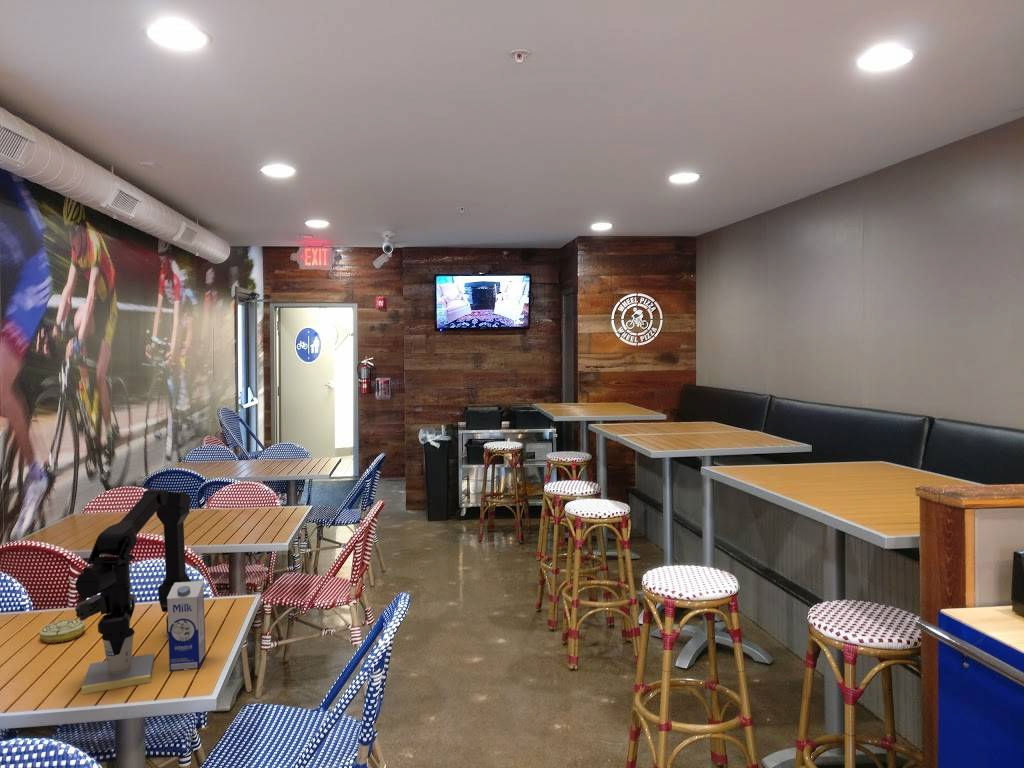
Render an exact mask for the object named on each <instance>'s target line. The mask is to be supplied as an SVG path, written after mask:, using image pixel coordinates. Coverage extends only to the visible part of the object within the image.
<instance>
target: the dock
mask: <svg viewBox="0 0 1024 768" xmlns="http://www.w3.org/2000/svg"><path fill="white" fill-rule="evenodd" d="M154 662H155V653H150V654H149V653H148V654H143V655H142V654H141V655H136V656H131V666H130V669H129V670H128V671H126V672H123V673H119V674H111V673H109V671H108V665H107V660H104V661H99V662H93V663H89V667H88V669H87V672H86V674H85V678H84V681H83V683H82V686H81V695H87V694H88V695H89V694H92V693H98V692H105V691H109V690H116V689H121V687H122V688H127V686H128V687H133V686H139V685H145V684H149V683H151V682H152V676H153V670H152V669H154V664H155V663H154ZM132 685H133V686H132Z"/></svg>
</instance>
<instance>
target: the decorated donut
mask: <svg viewBox="0 0 1024 768" xmlns="http://www.w3.org/2000/svg"><path fill="white" fill-rule="evenodd" d="M84 621H85V620H83V621H80V619H63V620H60V621H55V622H51V623H49V624H47V625H44V626H43V627H42V628H41V629H40V631H39V632H38V634H39V638H40V640H42V642H43V643H44V642H45V643H47V644H58V643H57V642H61V643H63V642H62V641H67V640H70V641H72V640H71V639H73V640H75V639H74V638H76V637H77V638H79V637H80V636H81V635H82V634H83V633H84V630H85V628H86V625H85V622H84ZM77 638H76V639H77ZM67 642H68V641H67Z"/></svg>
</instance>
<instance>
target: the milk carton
mask: <svg viewBox="0 0 1024 768" xmlns="http://www.w3.org/2000/svg"><path fill="white" fill-rule="evenodd" d="M204 583H205V581H204V580H198V581H197V580H196V581H192V582H177V583H174V585H173V586H172V588H171V590H170V592H169V595H168V597H167V606H168V612H167V615H168V633H167V634H168V659H169V660H168V664H169V665H168V666H169V667H168V668H169V672H174V670H178V671H185V670H184V669H190V670H194V669H193V668H199V667H201V666H202V664H203V663H204V661H205V659H206V658H205V657H206V623H205V622H206V620H205V619H206V618H205V595H204V594H205V593H204V592H205V591H204V589H205V588H204V587H205V586H204V585H205V584H204ZM203 660H204V661H203ZM202 662H203V663H202ZM200 665H201V666H200ZM199 669H200V668H199Z"/></svg>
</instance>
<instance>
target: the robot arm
mask: <svg viewBox="0 0 1024 768" xmlns="http://www.w3.org/2000/svg"><path fill="white" fill-rule="evenodd" d="M191 501H192V500H191V496H190V494H188V493H187V492H186V491H167V490H164V489H148V490H145V491H144V492H143V495H142V497H141V498H140V499H139V500H138V501H137V502H136V503H135V505H134V506H133V507H132V508H131V509H130V510H129V511H128V512H127V513H126V515H125V516H124V517H122V519H121V520H120V521H118V522H117V523H115V524H111V525H110V526H108V527H107V528H105V529H104V530H103V531H101V532H100V533H99V535H98V536H97V538H96V540H95V542H94V546H92V547H93V548H92V550H91V553H90V555H89V557H88V561H87V566H85V567H84V568H83V573H81V574H79V575H78V577H77V579H76V582H75V583H74V584H75V590H76V592H77V594H79V596H81V597H83V598H87V599H85V600H83V601H80V602H79V603H77V604H76V607H75V608H74V610H75V612H76V615H75V616H76V617H77V618H79V619H78V620H80V621H85V620H87V619H88V618H90V617H92V616H95V615H96V614H98V613H100V615H103V616H102V617H101V618H99V621H98V623H97V631H98V633H99V634H100V635H103V634H104V635H106V636H107V637H108V639H109V641H110V644H111V647H112V650H113V653H114V655H119V654H120V651H121V649H122V646H123V643H124V641H125V638H126V635H127V633H128V630H129V628H131V627H130V626H131V619H132V617H133V614H134V611H135V606H136V596H135V595H133V593H131V589H132V582H131V574H130V573H131V572H130V568H131V567H130V561H133V560H134V559H135V556H134V555H133V554H131V552H132V551H133V549H134V548H135V547H136V545H137V543H138V534H139V533H140V531H142V529H143V528H144V526H145V525H146V524H147V522H149V521H150V519H151V518H152V517H153V516H154V515H155V514H156V517H157V519H158V520H159V521H160V522H161V525H163V537H164V538H163V539H164V540H163V541H164V562H165V563H164V564H165V578H164V580H163V581H162V583H161V584H160V585H158V588H157V590H158V597H157V598H158V599H157V600H158V602H159V605H160V609H161V612H162V613H168V606H167V597H168V595H169V592H170V590H171V588H172V586H173V585H174V583H177V582H193V581H192V580H191V579H190V577H189V576H188V574H187V573H186V572H187V571H186V554H185V553H186V551H185V549H186V547H185V528H184V525H185V523H184V522H185V521H186V519H187V517H188V515H189V513H190V509H191V508H190V507H191ZM165 620H166V633H167V634H168V614H167V615H166V619H165Z"/></svg>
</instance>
